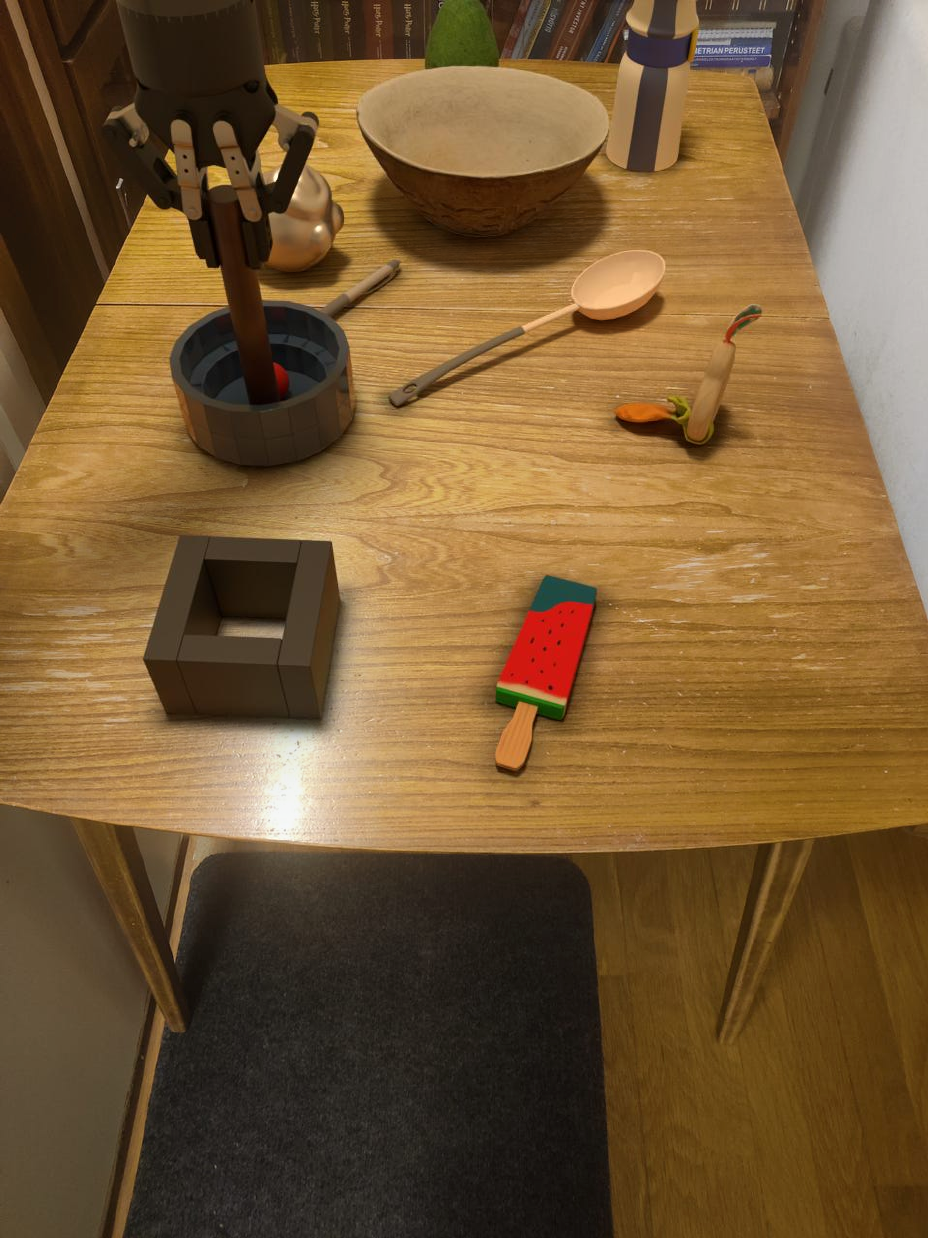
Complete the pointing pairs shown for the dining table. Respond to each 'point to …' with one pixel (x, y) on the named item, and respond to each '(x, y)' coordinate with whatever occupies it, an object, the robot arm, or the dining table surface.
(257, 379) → the stick
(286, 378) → the bead
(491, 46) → the fruit
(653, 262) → the ladle
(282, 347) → the dark grey round dish
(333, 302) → the pen
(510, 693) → the popsicle
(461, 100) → the bowl
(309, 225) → the copper rounded figure
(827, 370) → the dining table surface
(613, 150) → the water bottle
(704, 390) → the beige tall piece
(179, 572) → the holder
